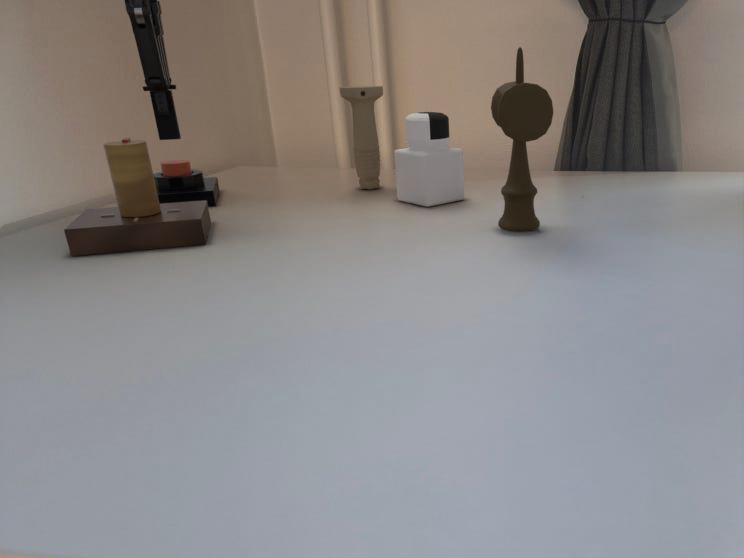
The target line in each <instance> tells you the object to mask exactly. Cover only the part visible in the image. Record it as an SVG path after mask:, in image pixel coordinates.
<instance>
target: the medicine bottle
mask: <svg viewBox="0 0 744 558" xmlns="http://www.w3.org/2000/svg"><path fill="white" fill-rule="evenodd" d="M404 125H405V126H404V127H405V139H406V140H405V142H406V145H408V147H404V148H398V149H394V152H393V155H394V168H395V169H394V170H395V183H396V184H395V185H396V197H397V200H398V201H400V202H403V203H408V204H412V205H413V204H414V205H417V206H421V207H425V208H426V207H427V208H429V207H435V206H439V205H444V204H448V203H454V202H459V201H464V200H465V170H464V169H465V167H464V150H463V149H462V148H460V147H459V148H458V147H451V146H448V144H449V143H450V141H451V140H450V118H449V116H448V115H447V114H445V113H443V112H439V111H437V112H436V111H421V112H413V113H410V114H408V115H407V116H406V117H405V118H404Z"/></svg>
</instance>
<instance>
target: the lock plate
mask: <svg viewBox="0 0 744 558" xmlns="http://www.w3.org/2000/svg"><path fill="white" fill-rule="evenodd" d="M160 208H161V212H160V213H158V214H155V215H150V216H144V217H122V216H121V215H120V211H119V207H118V206H109V207H96V208H95V207H94V208H86V209H84V210H83V211H82V212H81V213H80V214H79V215H78V216H77V217H76V218H75V219H74V220H72V222H70V223H69V224H68V225H67V226H66V227H65V228H64V229H63V232H64V235H65V239H66V243H67V246H68V249H69V253H70V256H71V257H78V256H79V257H80V256H90V255H102V254H114V253H125V252H136V251H146V250H148V251H149V250H157V249H158V250H159V249H168V248H180V247H192V246H202V245H207V242H208V237H209V233H210V229H211V225H212V219H211V215H210V210H209V206H208V203H207V200H204V201H190V202H176V203H163V204H160Z"/></svg>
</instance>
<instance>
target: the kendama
mask: <svg viewBox="0 0 744 558" xmlns="http://www.w3.org/2000/svg"><path fill="white" fill-rule="evenodd" d="M515 60H516V61H515V81H509V82H505V83H503V84H501V85H500V86H499V87H497V88H496V90H495V91H494V93H493V95H492V97H491V103H490V111H491V116H492V117H491V118H492V119H493V120H494V121H493V122H495V124H496V126H498V127H499V128H500V129H501V131H502V132H503V134H504V135H505V136H506V137H508V138H510V139H511V140H512V145H511V155H510V161H509V169H508V175H507V178H506V182H505V184H504V185H503V186H502V187H501V190H500V193H501V195H502V197H503V201H504V206H503V207H504V208H503V213H502V215H501V217H500V218H499V220H498V221H497V226H498V228H499V229H501V230H503V231H506V232H510V233H527V232H531V231H534V230H536V229H538V228H539V227H540V226H541V225H540V224H541V223H540V220H539V218H538V217H537V216H536V213H535V204H534V203H535V202H534V201H535V197H536V195H537V194H538V189H537V187H536V186H535V185H534V183H533V180H532V177H531V171H530V165H529V158H528V157H529V156H528V149H527V143H528V142H532V141H537V140H539V139H540V138H542V137H543V136H545V135H546V134H547V132H548V131H549V129H550V128H551V126H552V123H553V117H554V106H553V100H552V98H551V96H550V94H549V92H548V90H547V89H546V88H543V87H542V86H540V85H539V84H537V83H531V82H525V65H524V63H525V62H524V51H523V48H522V47H521V46H519V47H518V48H517V51H516V58H515Z"/></svg>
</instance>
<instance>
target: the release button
mask: <svg viewBox="0 0 744 558" xmlns="http://www.w3.org/2000/svg"><path fill="white" fill-rule="evenodd" d="M159 165H160V169H161V172H162V174H163V176H181V175H188V174H192V171H191V170H192V167H191V162H190V160H188V159H172V160H171V159H170V160H164V161H161V162H160V163H159Z"/></svg>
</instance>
